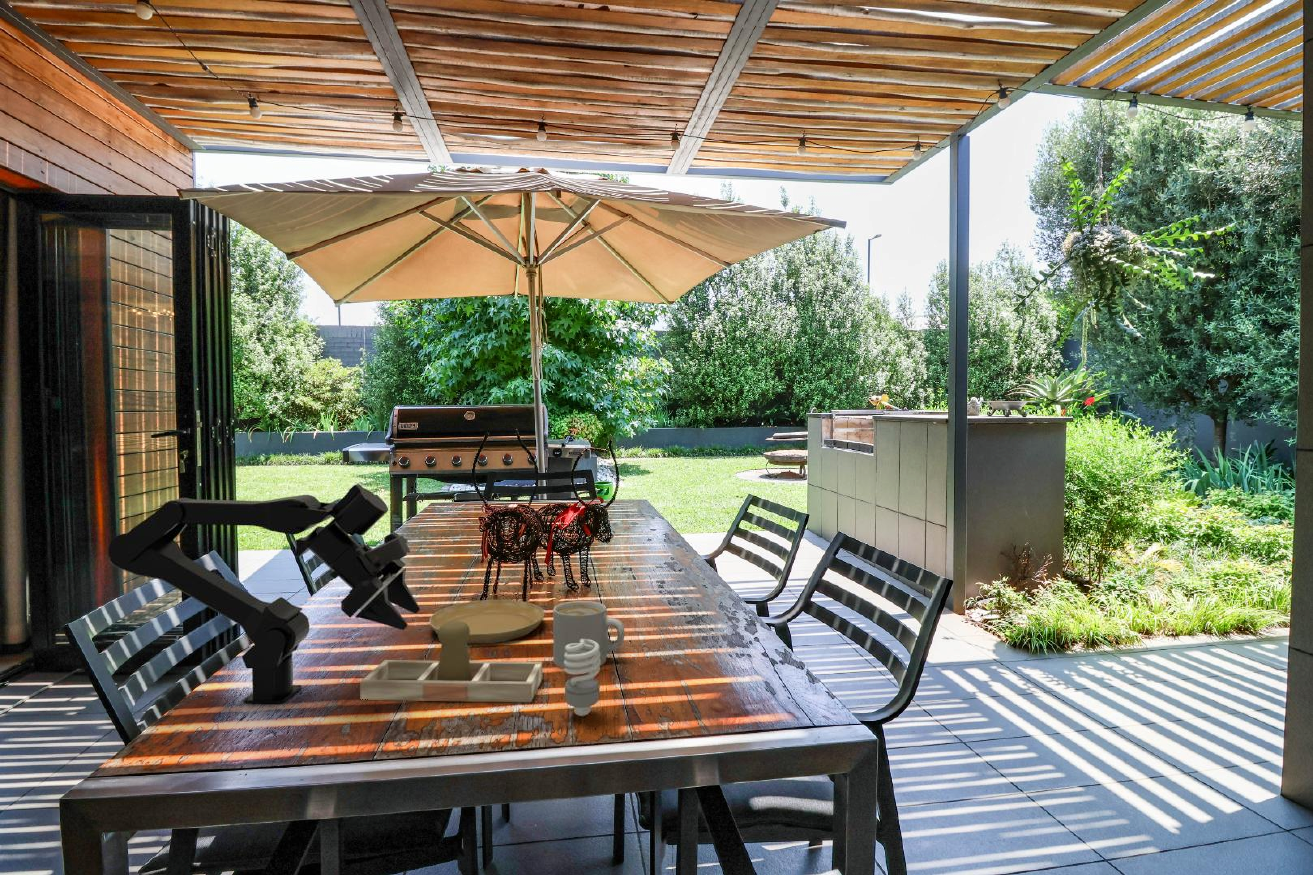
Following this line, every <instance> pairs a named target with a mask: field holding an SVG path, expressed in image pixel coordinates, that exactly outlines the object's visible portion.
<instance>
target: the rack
mask: <svg viewBox="0 0 1313 875" xmlns="http://www.w3.org/2000/svg"><path fill="white" fill-rule="evenodd" d="M469 662H470V669H471V676H472V681H442V680H437V676H438V668H439V660H410V659H407V660H405V659H403V660H401V659H396V660H395V659H384V660H383V661H381V663H380V664H378V666H376V667H375V668H374V669H373V670H371V671H370V673H368V674H367V675H366V676H365V677H363V679H361V680H360V682H359V691H360V692H359V694H360V698H359V700H360V699H361V700H362V699H363V700H362V701H410V702H411V701H415V702H417V701H418V702H419V701H420V702H425V701H426V702H478V703H479V702H482V703H483V702H484V703H485V702H490V703H491V702H493V703H495V702H496V703H532V701H533V699H534V698H535V695H536V693H537V691H538V689H539V687H540V685H541V683H542V681H543V661H485V660H484V661H483V660H481V661H480V660H477V661H476V660H469ZM365 699H366V700H365ZM367 699H368V700H367ZM361 700H360V701H361Z"/></svg>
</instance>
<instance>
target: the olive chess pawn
mask: <svg viewBox="0 0 1313 875" xmlns="http://www.w3.org/2000/svg"><path fill="white" fill-rule="evenodd" d="M469 635H470V629H469V626H468V625H467V624H466V623H465V622H461V621H452V622H447V623H444V624H443V625H441V626H440V628H439V631H438V634H437V638H438V641H439V643H441V646H440V654H439V660H438V661H439V668H438V676H437V680H442V681H472V676H471V669H470V662H469V661H470V656H469V649H468V644H467V640H468V638H469Z"/></svg>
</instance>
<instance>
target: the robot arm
mask: <svg viewBox="0 0 1313 875" xmlns="http://www.w3.org/2000/svg"><path fill="white" fill-rule="evenodd" d="M388 512H389V508H388V505H387V503H385V501H384V500H383V499H382V498H381V497H380V496H379V495H378V494H375V493H374V492H372V491H371V490H369V489H367V488H365V487H363V486H362V485H360V483H356V484H354V485H352V487H351V488H349V489H348V491H347V492H346V494H344V496H343V497H342V498H341V499H340V500H339V501H338V502H337V503H334V502H332V503H331V502H325V501H324V502H323V501H319V499H317V497H316V496H314V495H310V494H300V495H293V496H292V495H291V496H285V497H280V498H274V499H268V500H234V499H233V500H232V499H231V500H230V499H229V500H227V499H224V500H223V499H193V498H189V497H182V498H177V499H172V500H168V501H166V502H165V503H163V505H162V506H161V507H159V508H158V509H157V510H156V511H155V512H154V513H152V514H151V515H150V516H148V517H147V518H145V519H144V520H142V521H141V522H139V523H138V524H137V525H135V526H134V527H132V528H131V529H130V530H128V532H124V533H121V534H119V535H117V536H115V537H114V538H113V539H111V541H110V542H109V545H108V550H107V553H108V556H109V558H108V560H109V562H110V563H111V564H112V565H113V566H114V567H116V568H117V569H119V570H122V571H125V572H128V573H130V574H133V575H136V576H140V577H143V578H144V577H146V578H151V579H157V580H161V581H163V582H164V583H166V584H169V585H170V586H172V587H174V588H176V589H177V590H178V591H181V592H182V593H184V594H185V595H188V596H189V597H191V598H193V599H194V600H196V601H198V602H199V603H201V604H203V605H204V606H206V607H208V608H210V609H211V610H213V611H215V612H217V613H218V614H221V615H222V616H223V617H225V618H227V619H229V620H230V621H232V622H234V623H236V624H238V626H240V627H241V628H242V629H243V631H244V632H245V634H246V636H247V638H248V639H249V641H250V642H251V643H252V644H253V645H252V646H251V647H250V648H249V649H248V650H246V652H245V653H244V654H243V655H241V659H242V661H243V663H244V666H245V668H246V669H251V675H252V676H251V678H252V680H251V681H252V687H251V688H252V693H250V694H249V695H247V696H246V697H244V698H243V701H242V702H243V703H246V704H282V703H284V702H286V701H288V699H290V698H291V697H292V696H294V695H295V694H296V693H297V692H299V691H301V689H302V688H303V686H302V685H301V684H293V683H294V670H293V668H294V667H293V666H294V665H293V653H294V652H295V651H297V650H298V648H299V645H300V643H302V642H303V641H304V640H305V638H307V636H308V634H309V631H310V623H309V622H310V621H309V618H308V617H307V615H306V614H305V613H303V612H301V611H302V610H303V607H299V606H295V605H293V604H292V603H290V601H288V600H287V599H285V598H284V597H282V596H279V597H278V598H277V599H274V601H272V602H268V601H263V600H260V599H259V598H257V597H255V596H254V595H252V594H250V593H249V592H247V591H245V590H243V589H242V588H240V587H238V586H237V585H235V584H233V583H232V582H230V581H228V580H227V579H225V578H223V577H221V576H219V575H218V574H216V573H215V572H213V571H211V570H209V569H208V568H206V567H204V566H202V564H200V563H197V562H196V561H194V560H192V559H191V558H189V557H188V556H186V555H185V553H184V551H183V550H182V549H181V547H180V545H179V544H178V542H177V541H176V540H175V539H176V538H178V537H179V536H180V534H181V533H182V532H184V529H185V528H186V527H187V526H188V525H198V526H199V525H201V526H204V525H205V526H207V525H211V526H252V527H257V528H258V527H259V528H261V529H265V530H266V531H271V532H276V533H279V534H280V533H281V534H286V535H298V534H301V533H303V532H305V531H307V530H310V529H312V528H314V527H315V528H314V529H313V530H312V531H311V532H310V533H309V534H308V535H307V536H306V537H300V538H298V539H295V546H296V547H295V556H296V557H298V558H299V557H301V556H302V555H304V554H306V553H308V551H310V552H312V553H313V554H314V555H315V556H316V557H317V558H318V559H319V560H320V561H321V562H322V563H323V564H325V565H326V566H327V567H328V568H329V569H330V570H331V571H332V572H331V573H330V576H331V577H332V578H333V580H336V579H337V578H338V577H339V578H340V580H342V581H343V582H344V583H345V584H346V585H347V586H348V587H350V588H351V589H350V591H349V592H348V594H347V596H345V597H344V598H343V599H342V600H341V601H340V605H341V607H340V610H341V611H342V612H343V613H344V614H345V615H346V616H348V617H349V618H352V617H353V616H354V615H355V614H356V613H357V612H358V611H359V610H360V611H359V612H358V613H357V614H356V615H355V616H354V617H355V619H362V620H367V621H371V622H375V623H378V624H382V625H385V626H389V627H392V628H395V629H398V630H401V631H404V630H405V629H406V628H407V627H408V626H409V624H408V622H407V621H406V619H405V618H404V617H403V616H402V615H401V613H400V612H399V611H398V609H397V608H396V607H395V606H398V607H400V608H402V609H404V610H406V611H409V612H411V613H413V614H418V612H420V610H421V608H420V606H419V604H418V602H417V601H416V599H415V597H414V595H413V593H412V592H411V591H410V589H409V587H408V585H407V583H406V581H405V580H406V572H407V569H406V567H405V566H406V563H405V562H404V561H402V559H403V558H404V557H407V556H408V555H407V554H409V553H411V549H410V548H409V546H408V539H407V538H406V537H404V535H403V534H401V535H399V534H398V533H397V532H395V531H394V532H392V533H389V534H387V535H385V536H384V537H383V538H384V539H383V540H384V541H383V543H381V544H379V545H377V546H376V547H374V548H372V547H371V546H370V545H369V544H365V543H364V544H362V545H361V544H359V543H358V542H357V541H356V540H355V539H354V538H353V537H352V536H355V535H359V536H365V534H366V533H367V532H368V531H369V530H370V529H372V527H374V525H376V523H377V522H378V521H379V520H380V519H382V517H383V516H384V515H385V514H387V513H388ZM331 518H332V520H331V521H329V523H327V525H325V526H321V525H319V526H317V525H318V524H321V523H323V522H325V521H327V520H330V519H331ZM404 567H405V568H404ZM403 568H404V569H403ZM402 569H403V570H402ZM401 570H402V571H401ZM393 604H394V605H395V606H394V605H393Z"/></svg>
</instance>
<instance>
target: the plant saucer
mask: <svg viewBox="0 0 1313 875" xmlns="http://www.w3.org/2000/svg"><path fill="white" fill-rule="evenodd" d="M544 617H545V610H544V609H543V608H542V607H541V606H539V605H538V604H534V603H532V602H527V601H521V600H515V599H514V600H512V599H486V600H485V599H484V600H475V601H474V600H473V601H467V602H461V603H458V604H454V605H451V606H448V607H445V608H442V609H440V610H438V611H436V612H435V613H434V614H432V615H431V616H430V618H429V620H428V621H429V624H430V626H431V629H432V630H433V631H435V633H436V634H437V635H438V631H439V628H440V626H441V625H443V624H444V623H447V622H452V621H461V622H465V623H466V624H467V625H468V626H469V629H470V635H469V638H468V640H467V645H483V644H484V645H485V644H497V643H503V642H509V641H512V640H517V639H519V638H522V637H525V636H526V635H528V634H530V633H531V632H532V631H534V630H535V629H536V628H538V626H540V624H541V622H542V621H543V619H544Z"/></svg>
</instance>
